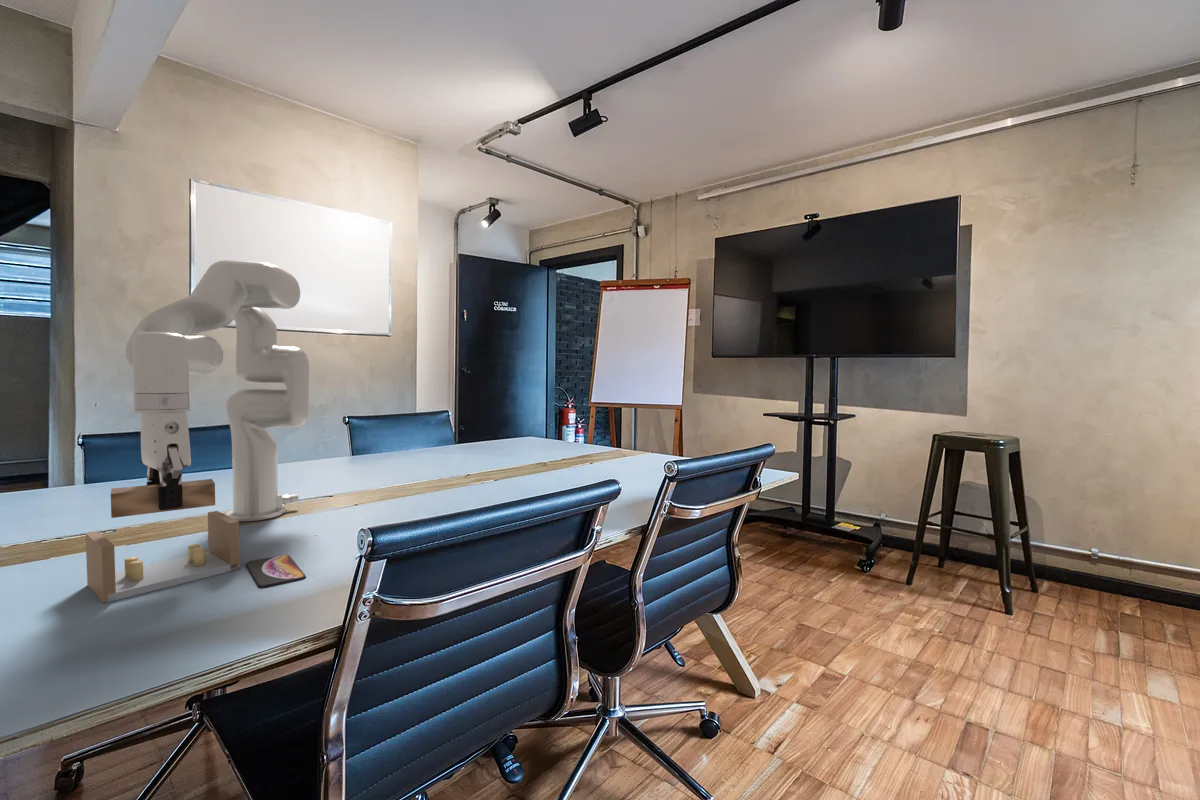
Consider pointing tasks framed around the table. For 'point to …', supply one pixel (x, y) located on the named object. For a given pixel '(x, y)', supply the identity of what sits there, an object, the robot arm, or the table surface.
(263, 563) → the smartphone
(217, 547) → the peg stand
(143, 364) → the robot arm
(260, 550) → the table surface
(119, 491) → the shelf board
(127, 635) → the table surface
